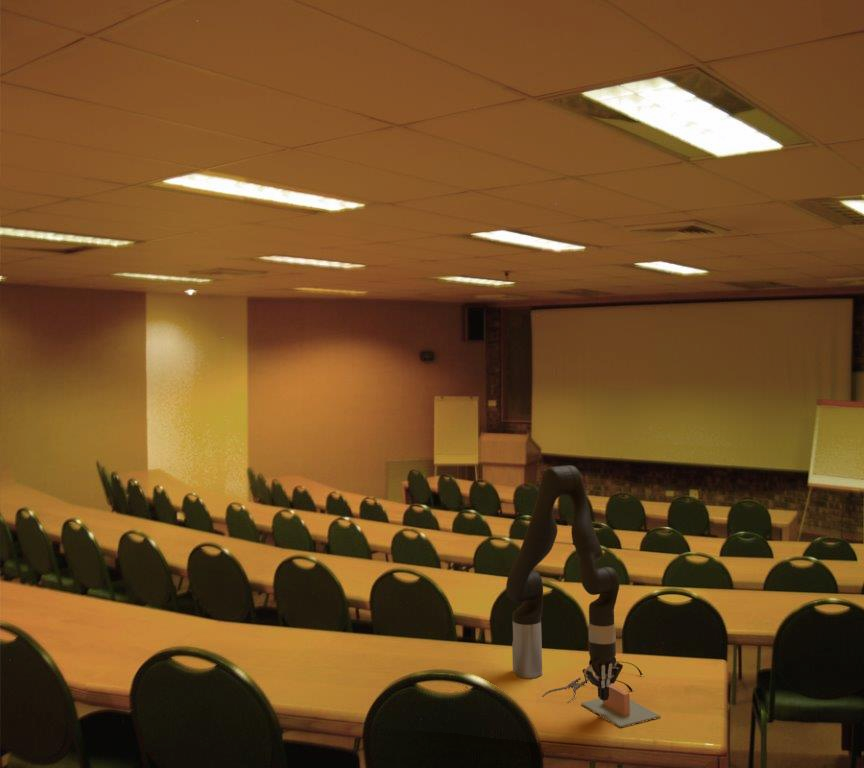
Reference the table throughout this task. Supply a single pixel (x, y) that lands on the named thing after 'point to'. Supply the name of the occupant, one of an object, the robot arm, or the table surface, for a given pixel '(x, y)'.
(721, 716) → the table surface
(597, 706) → the mat
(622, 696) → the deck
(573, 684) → the pliers
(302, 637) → the table surface
